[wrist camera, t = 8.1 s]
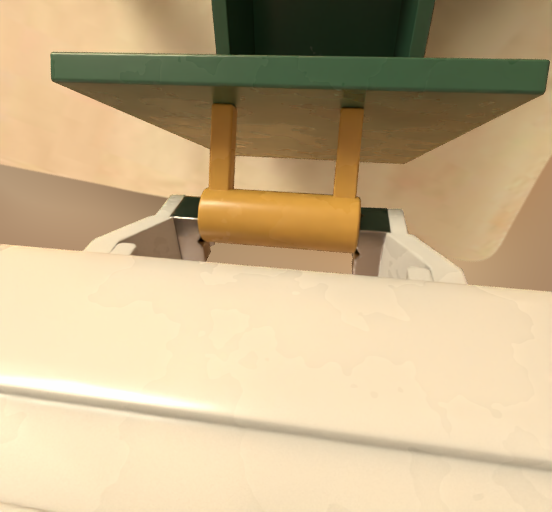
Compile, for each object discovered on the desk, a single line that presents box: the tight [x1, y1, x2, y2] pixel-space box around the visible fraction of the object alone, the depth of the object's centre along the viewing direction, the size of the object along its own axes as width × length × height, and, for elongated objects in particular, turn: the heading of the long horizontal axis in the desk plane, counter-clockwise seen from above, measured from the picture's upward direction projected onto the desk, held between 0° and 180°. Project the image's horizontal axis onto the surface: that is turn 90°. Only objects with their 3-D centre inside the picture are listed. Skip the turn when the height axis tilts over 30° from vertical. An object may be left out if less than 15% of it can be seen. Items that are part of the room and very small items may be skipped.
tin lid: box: [51, 52, 550, 253], centre depth 19 cm, size 18×13×5 cm
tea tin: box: [212, 0, 435, 58], centre depth 26 cm, size 17×13×9 cm
